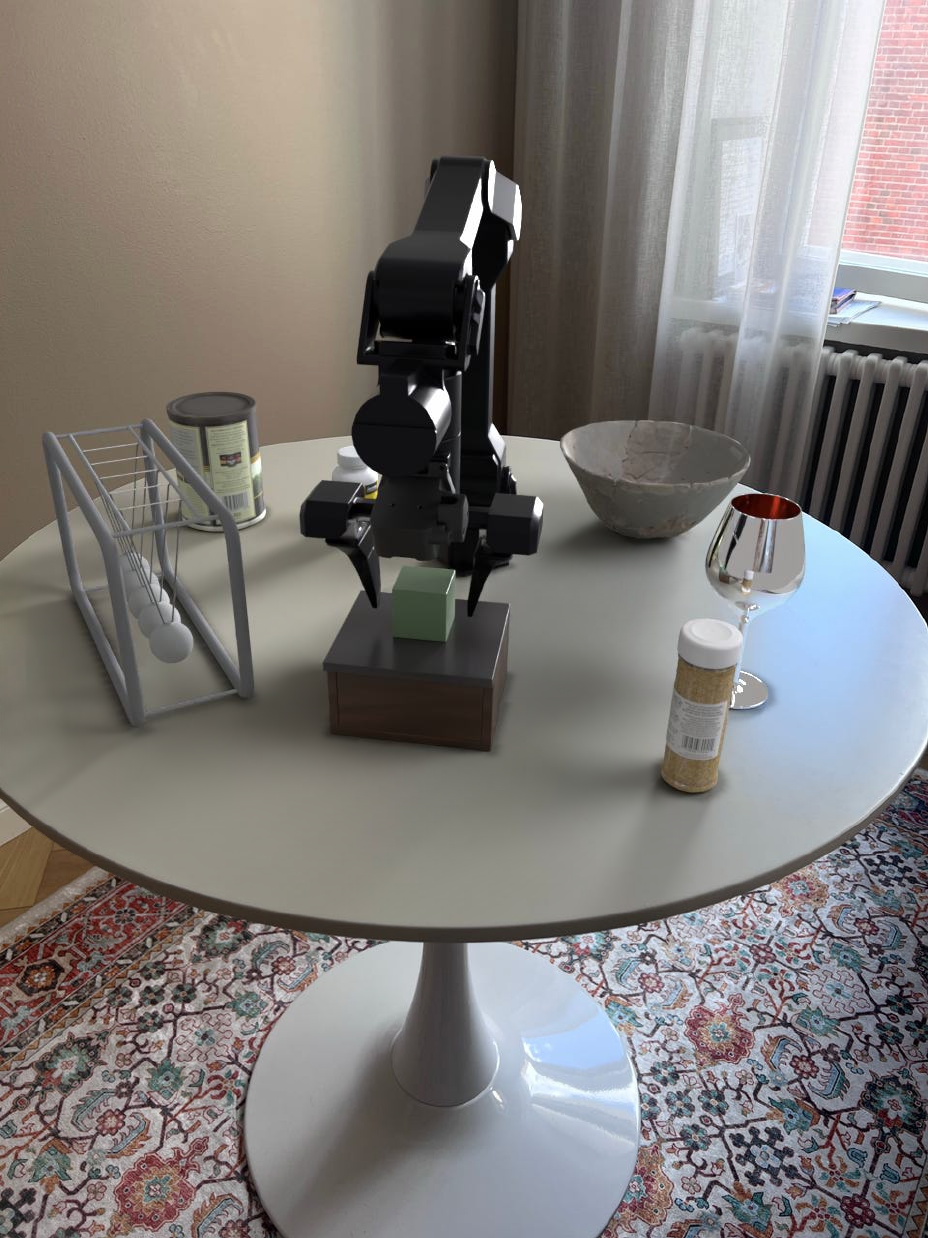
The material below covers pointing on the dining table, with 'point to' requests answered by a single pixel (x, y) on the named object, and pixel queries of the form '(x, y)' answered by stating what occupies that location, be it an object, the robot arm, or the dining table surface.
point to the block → (423, 603)
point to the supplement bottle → (355, 471)
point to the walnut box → (417, 708)
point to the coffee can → (219, 454)
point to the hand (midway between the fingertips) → (423, 610)
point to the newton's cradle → (147, 569)
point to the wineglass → (756, 569)
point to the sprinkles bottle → (700, 703)
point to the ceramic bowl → (653, 473)
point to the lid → (420, 645)
